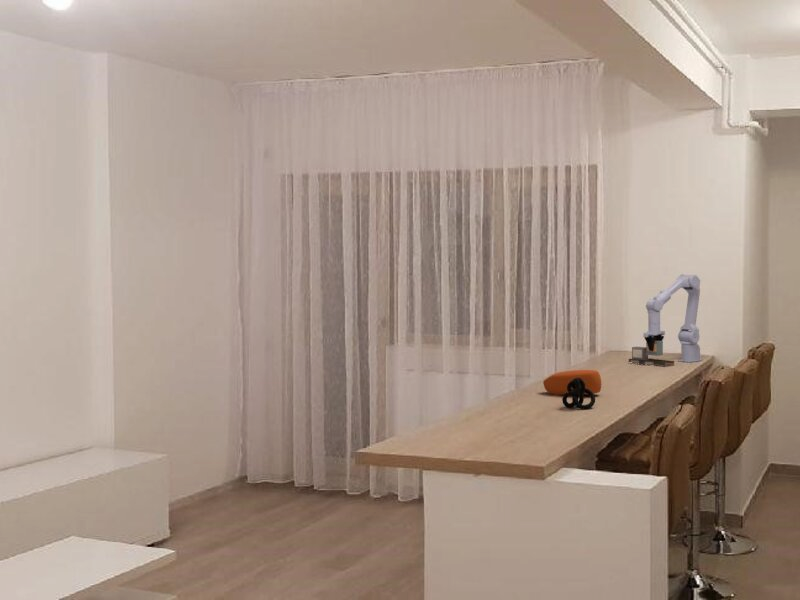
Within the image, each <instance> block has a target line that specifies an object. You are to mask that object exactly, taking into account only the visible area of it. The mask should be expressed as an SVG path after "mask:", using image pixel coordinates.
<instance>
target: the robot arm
mask: <svg viewBox="0 0 800 600" xmlns="http://www.w3.org/2000/svg"><path fill="white" fill-rule="evenodd" d="M700 286H701V279H700V278H699V276H698V275H697V274H680V275H679V276H677V277H676V279H675V281H674V282H673V283H672V284H671V285H670V286H668V288H667V289H663V290H660V291H659V293H658V294H657V295H655V296H654V297H653V298H652V299H649V300H648V301H647V302H646V304H645V309H646V311H647V314H648V316H647V317H648V319H647V321H648V325H647V326H648V331H646V332H644V333H643V338H644V340H645V341H646V342H647V344H648V348H649V351H653V350H654V342H655V341H663V340H664V339H665V335H666V331H665V330H661V311H662V310H663V307H664V305H665V304H666V303H667V302H669V301H670V300H671V299H672V296H673V294H675V293H676V292H677V291H679V290H680V289H683V290H685V291H686V293H687V294H688V296H687V303H686V310H685V316H684V317H685V318H684V324H682V326H681V327H680V330H679V332H678V335H677V339H678V341H679V343H680V345H681V349H680V350H681V359H678V360H677V361H678V362H686V363H687V362H688V363H693V362H699V361H702V359H701V347H700V345H699V344H698V342H699V341H700V329H699V327H697V325H696V324H697V316H698V309H699V304H700V303H699V302H700V296H701V295H700V293H701V289H700Z"/></svg>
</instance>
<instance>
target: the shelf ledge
mask: <svg viewBox="0 0 800 600" xmlns="http://www.w3.org/2000/svg"><path fill="white" fill-rule="evenodd" d="M629 362H632V363H639V364H638V365H641V364H647V365H646V366H650V365H654V366H653V367H659V368H660V367H661V368H665V367H666V368H667V367H672V366H674V367H675V361H674V360H667V359H656V358H650V357H648V361H647V360H638V359H632V358H628V363H629ZM632 363H631V364H632Z"/></svg>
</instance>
